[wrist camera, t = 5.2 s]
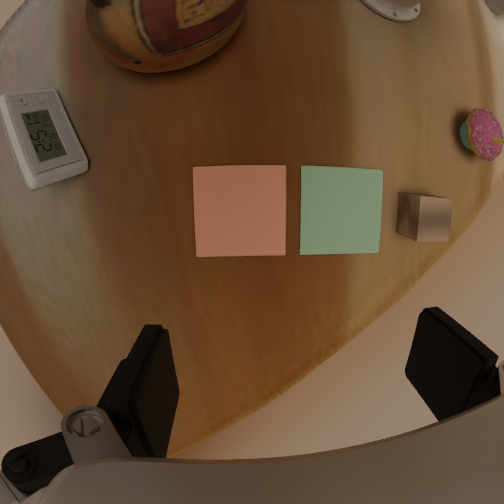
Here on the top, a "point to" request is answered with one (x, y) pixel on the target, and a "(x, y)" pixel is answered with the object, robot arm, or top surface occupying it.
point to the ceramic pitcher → (161, 30)
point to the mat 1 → (240, 210)
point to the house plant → (496, 6)
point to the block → (424, 217)
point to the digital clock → (41, 137)
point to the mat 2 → (340, 210)
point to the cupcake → (482, 134)
